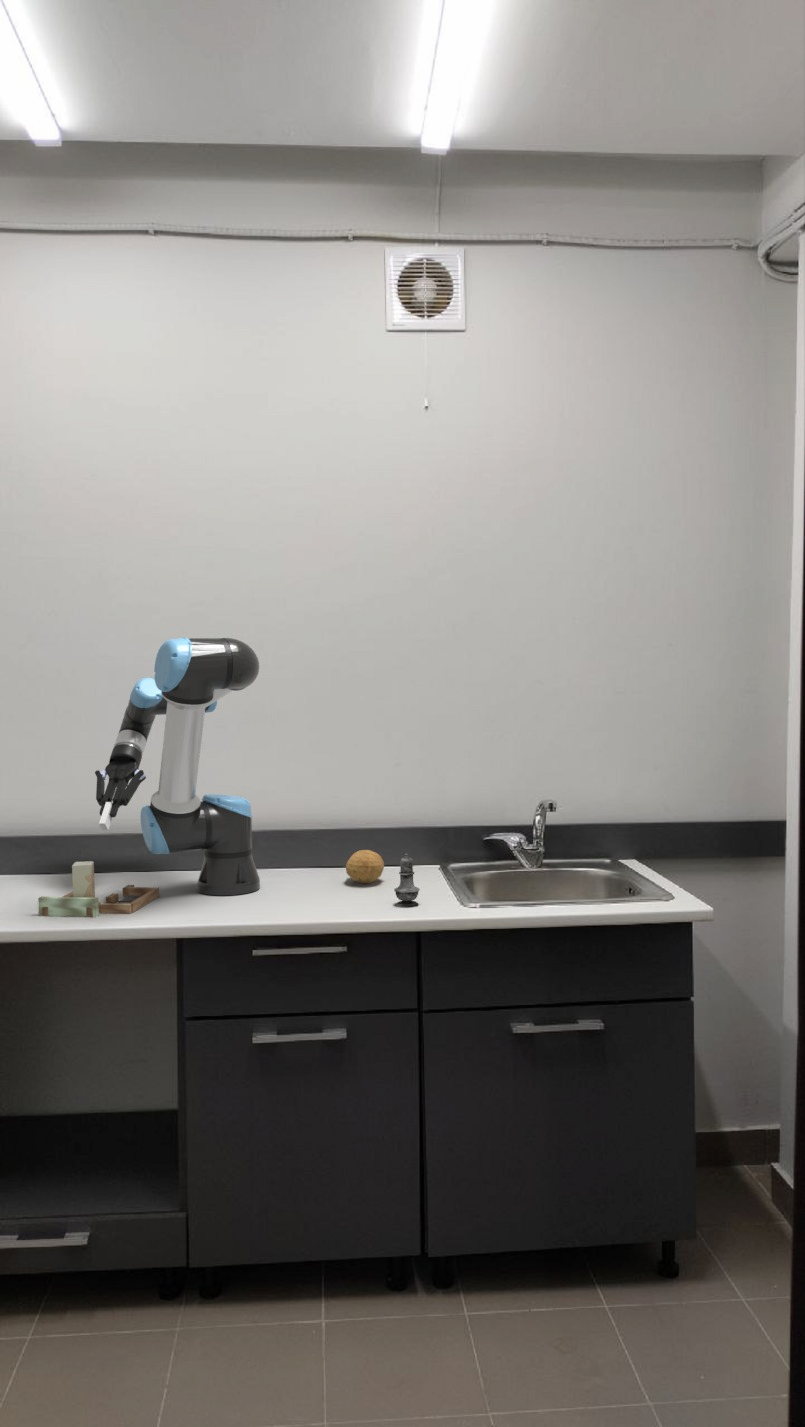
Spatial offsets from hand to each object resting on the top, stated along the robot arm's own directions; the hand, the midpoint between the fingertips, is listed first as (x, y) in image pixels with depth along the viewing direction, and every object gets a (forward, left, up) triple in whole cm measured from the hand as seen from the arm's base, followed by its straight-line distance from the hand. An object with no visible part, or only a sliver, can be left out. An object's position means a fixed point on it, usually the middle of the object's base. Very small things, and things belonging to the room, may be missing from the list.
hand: (103, 826), depth 267 cm
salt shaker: (-74, +3, -17) cm, 76 cm away
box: (-2, +16, -17) cm, 24 cm away
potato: (-60, -20, -17) cm, 66 cm away
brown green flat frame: (-4, +9, -17) cm, 19 cm away
